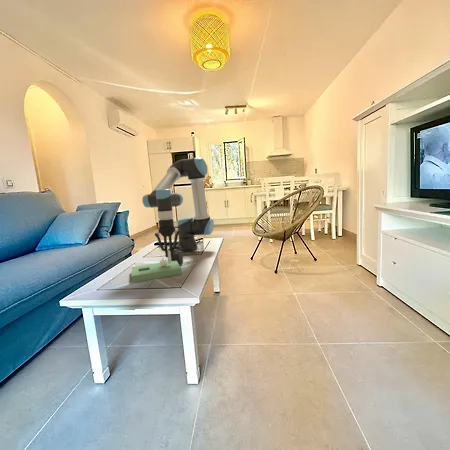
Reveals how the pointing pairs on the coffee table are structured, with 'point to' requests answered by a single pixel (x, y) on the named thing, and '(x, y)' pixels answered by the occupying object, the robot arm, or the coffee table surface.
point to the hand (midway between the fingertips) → (169, 262)
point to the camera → (177, 255)
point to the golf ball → (163, 262)
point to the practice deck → (155, 271)
